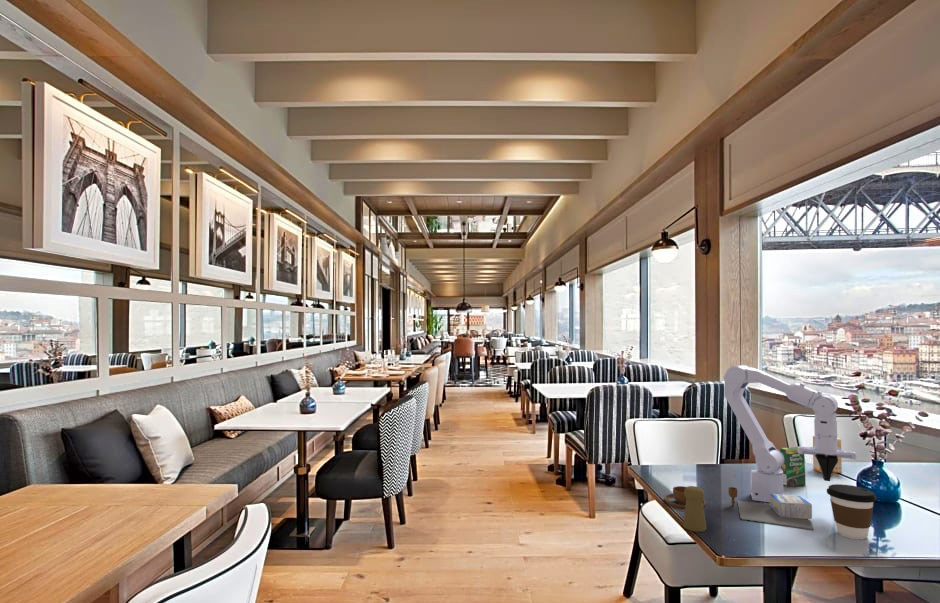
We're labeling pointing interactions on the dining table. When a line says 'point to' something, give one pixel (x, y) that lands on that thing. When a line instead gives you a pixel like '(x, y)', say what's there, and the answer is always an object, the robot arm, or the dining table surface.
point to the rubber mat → (769, 515)
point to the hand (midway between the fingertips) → (826, 480)
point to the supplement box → (839, 465)
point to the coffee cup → (852, 510)
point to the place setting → (680, 497)
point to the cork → (694, 509)
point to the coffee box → (793, 467)
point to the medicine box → (791, 506)
